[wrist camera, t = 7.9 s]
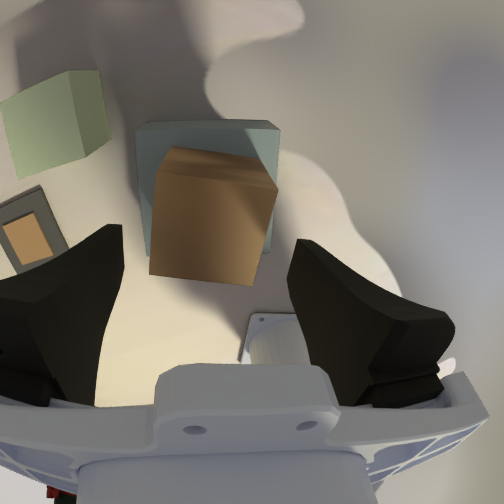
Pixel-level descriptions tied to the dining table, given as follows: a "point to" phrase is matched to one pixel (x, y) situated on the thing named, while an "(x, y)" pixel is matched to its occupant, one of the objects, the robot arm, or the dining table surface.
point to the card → (30, 232)
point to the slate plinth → (205, 138)
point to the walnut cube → (210, 216)
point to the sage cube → (56, 121)
